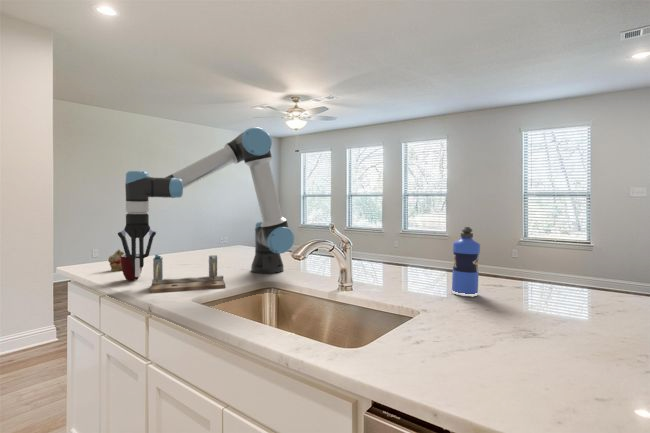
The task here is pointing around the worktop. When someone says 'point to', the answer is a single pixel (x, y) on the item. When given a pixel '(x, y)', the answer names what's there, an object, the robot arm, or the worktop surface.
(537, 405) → the worktop surface
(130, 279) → the mug
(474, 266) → the water bottle
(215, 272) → the fixed leg
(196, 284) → the brown wooden board
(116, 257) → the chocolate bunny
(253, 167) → the robot arm
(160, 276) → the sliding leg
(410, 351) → the worktop surface
